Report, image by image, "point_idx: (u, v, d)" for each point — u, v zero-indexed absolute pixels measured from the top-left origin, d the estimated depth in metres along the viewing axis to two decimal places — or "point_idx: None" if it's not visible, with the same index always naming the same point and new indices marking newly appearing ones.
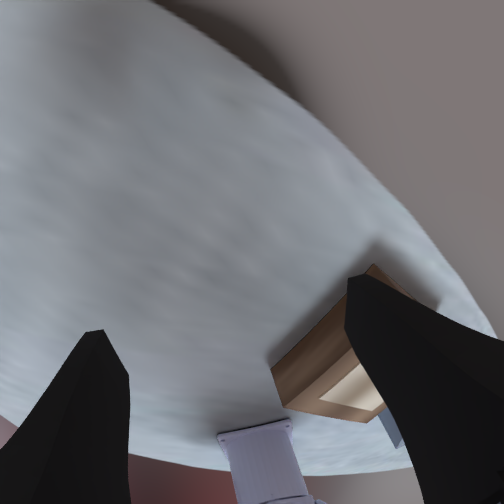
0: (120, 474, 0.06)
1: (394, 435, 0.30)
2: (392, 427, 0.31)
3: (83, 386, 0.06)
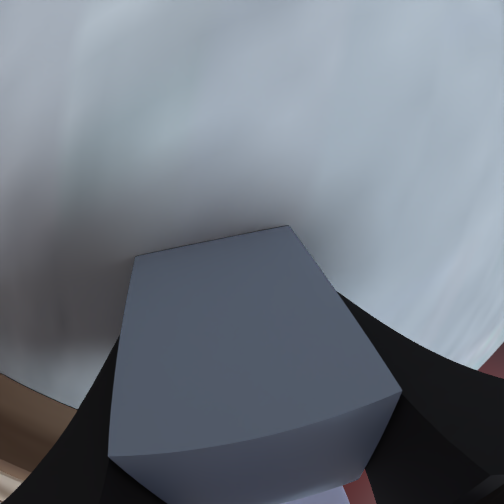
0: None
1: None
2: None
3: None
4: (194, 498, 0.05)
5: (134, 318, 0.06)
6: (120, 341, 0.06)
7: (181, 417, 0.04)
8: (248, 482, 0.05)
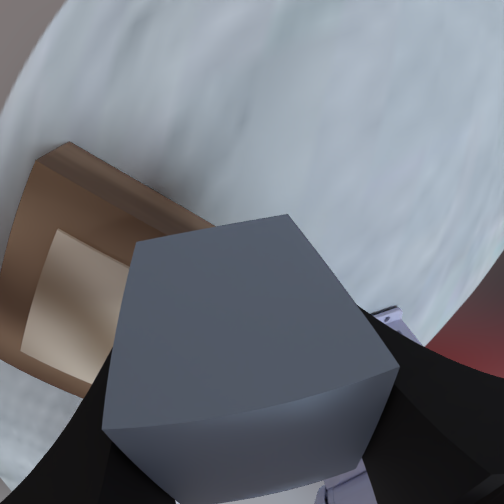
0: None
1: None
2: None
3: None
4: (189, 482, 0.05)
5: (133, 298, 0.06)
6: (119, 319, 0.06)
7: (178, 390, 0.04)
8: (243, 464, 0.05)
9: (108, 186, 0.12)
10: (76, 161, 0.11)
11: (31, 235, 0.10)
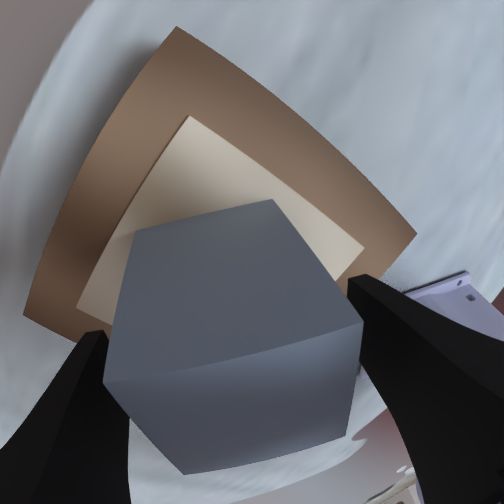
0: (120, 475, 0.06)
1: None
2: None
3: (83, 386, 0.06)
4: (184, 442, 0.06)
5: (132, 276, 0.07)
6: (120, 294, 0.07)
7: (168, 347, 0.05)
8: (231, 422, 0.06)
9: None
10: None
11: (144, 124, 0.08)
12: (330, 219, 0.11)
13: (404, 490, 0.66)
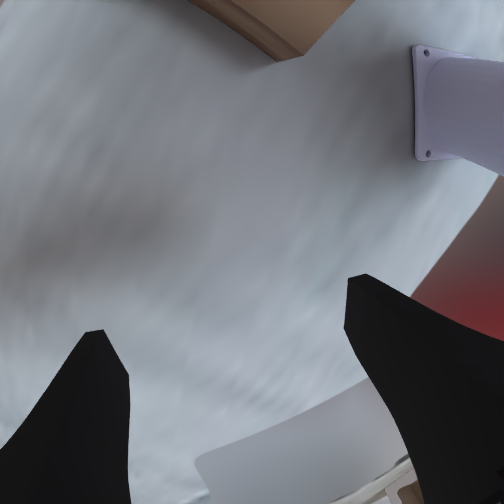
0: (120, 474, 0.06)
1: None
2: None
3: (83, 386, 0.06)
4: None
5: None
6: None
7: None
8: None
9: None
10: None
11: None
12: None
13: None
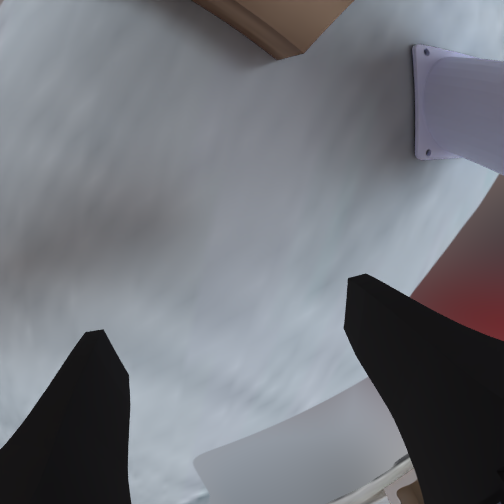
0: (120, 474, 0.06)
1: None
2: None
3: (83, 386, 0.06)
4: None
5: None
6: None
7: None
8: None
9: None
10: None
11: None
12: None
13: None
